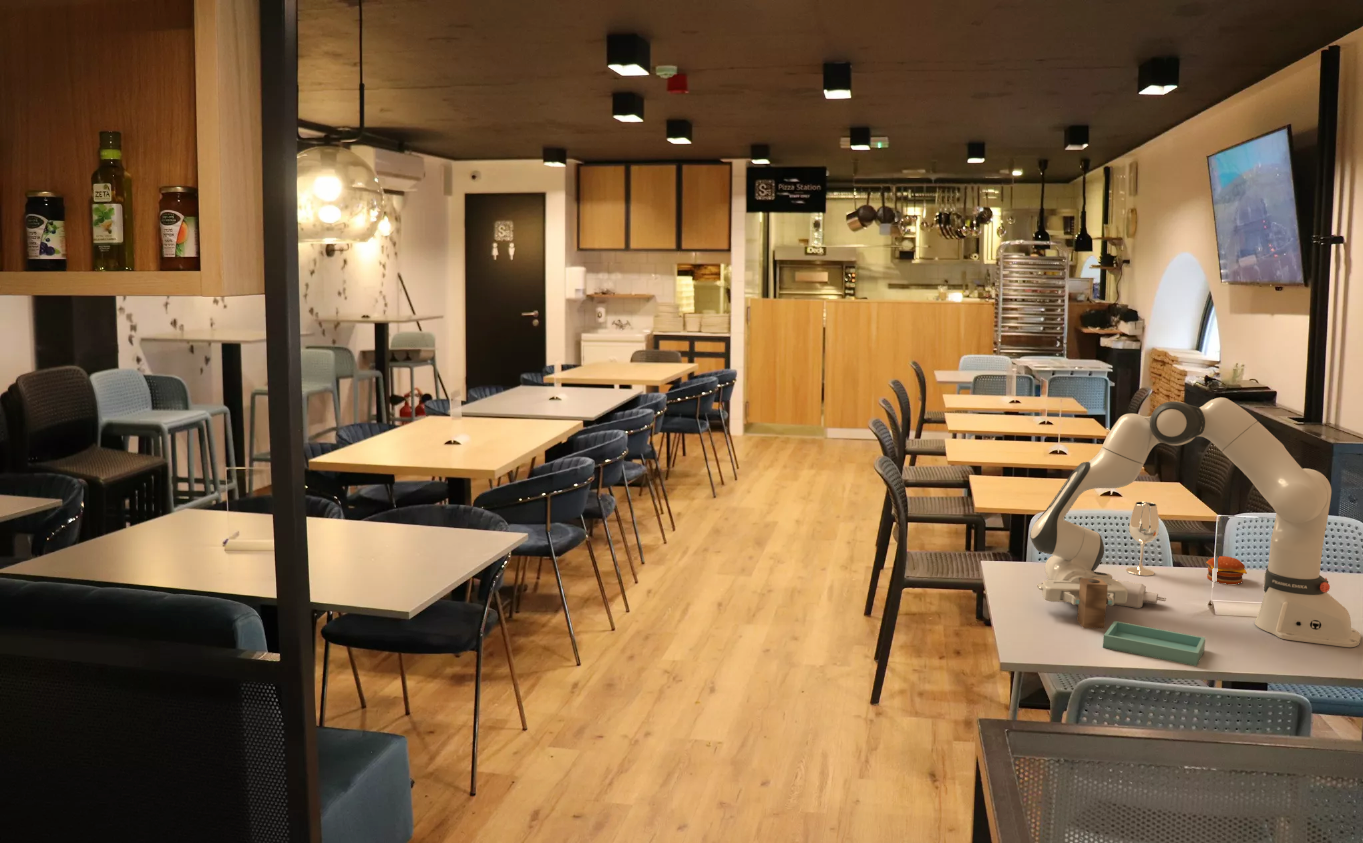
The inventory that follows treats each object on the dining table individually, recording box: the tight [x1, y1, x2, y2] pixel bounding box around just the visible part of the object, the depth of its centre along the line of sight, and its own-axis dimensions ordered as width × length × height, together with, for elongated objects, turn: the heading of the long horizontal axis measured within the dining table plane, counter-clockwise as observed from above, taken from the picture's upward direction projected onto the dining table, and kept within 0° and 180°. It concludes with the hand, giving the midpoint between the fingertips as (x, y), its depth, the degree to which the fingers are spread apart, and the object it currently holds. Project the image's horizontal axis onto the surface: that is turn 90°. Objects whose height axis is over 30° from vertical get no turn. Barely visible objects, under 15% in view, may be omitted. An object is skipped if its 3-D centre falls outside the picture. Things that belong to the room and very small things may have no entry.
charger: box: [1113, 580, 1167, 609], centre depth 292 cm, size 5×9×15 cm
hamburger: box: [1205, 555, 1248, 585], centre depth 313 cm, size 9×10×7 cm
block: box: [1076, 578, 1108, 629], centre depth 274 cm, size 5×5×11 cm
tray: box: [1102, 620, 1206, 667], centre depth 259 cm, size 20×12×3 cm, turn 58°
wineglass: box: [1125, 501, 1160, 577], centre depth 318 cm, size 8×8×20 cm
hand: (1093, 602), depth 273 cm, fingers open, 7 cm apart
